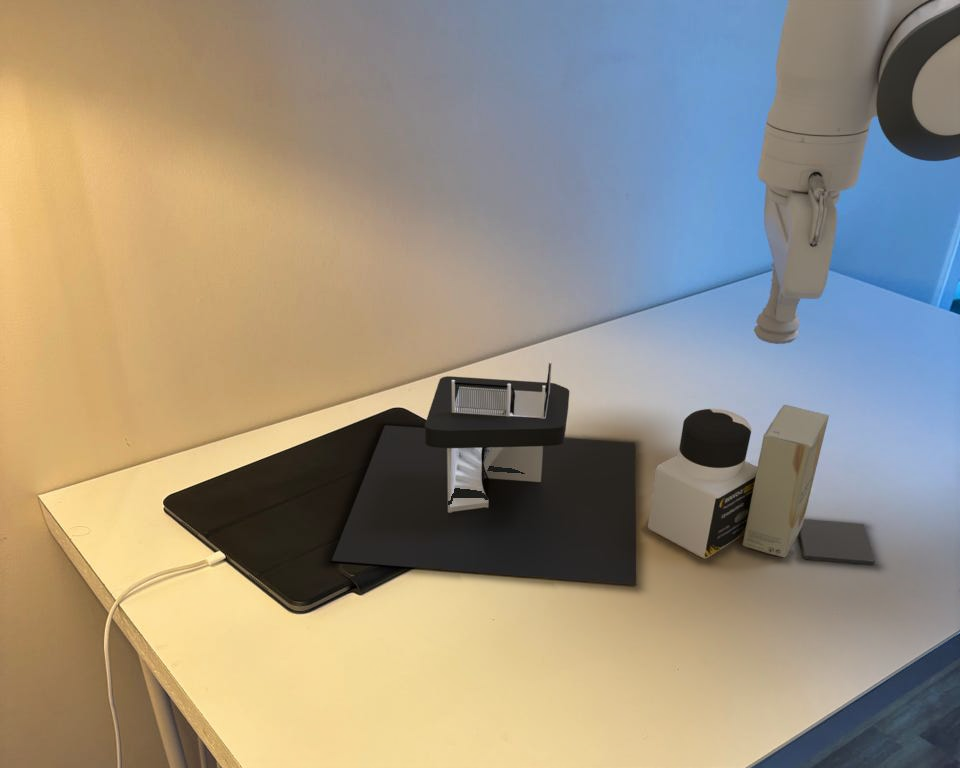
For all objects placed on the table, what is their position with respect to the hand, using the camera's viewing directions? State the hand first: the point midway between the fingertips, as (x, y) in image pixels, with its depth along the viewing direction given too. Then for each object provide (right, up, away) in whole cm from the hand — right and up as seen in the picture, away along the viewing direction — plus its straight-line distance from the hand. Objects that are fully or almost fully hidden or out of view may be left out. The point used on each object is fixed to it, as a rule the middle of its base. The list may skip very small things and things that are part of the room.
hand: (781, 309), depth 98 cm
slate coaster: (+4, -24, -3) cm, 24 cm away
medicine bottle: (-9, -22, -2) cm, 24 cm away
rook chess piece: (0, -2, +2) cm, 3 cm away
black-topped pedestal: (-28, -19, +2) cm, 34 cm away
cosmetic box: (-2, -23, -3) cm, 23 cm away
